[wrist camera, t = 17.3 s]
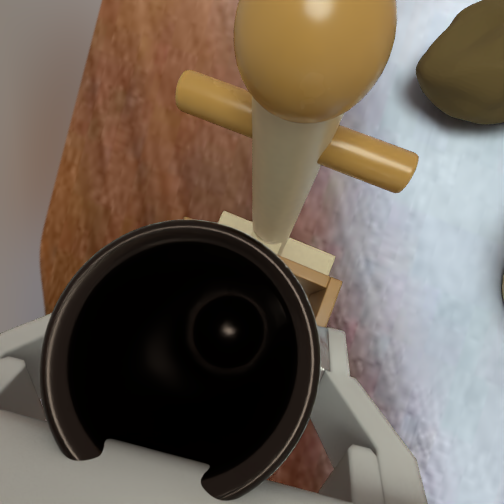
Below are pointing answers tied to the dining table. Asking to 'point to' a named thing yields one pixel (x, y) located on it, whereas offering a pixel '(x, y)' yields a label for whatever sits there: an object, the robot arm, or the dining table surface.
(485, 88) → the decorative stone
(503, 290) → the jug
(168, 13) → the dining table surface
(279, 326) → the grey tumbler
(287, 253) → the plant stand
